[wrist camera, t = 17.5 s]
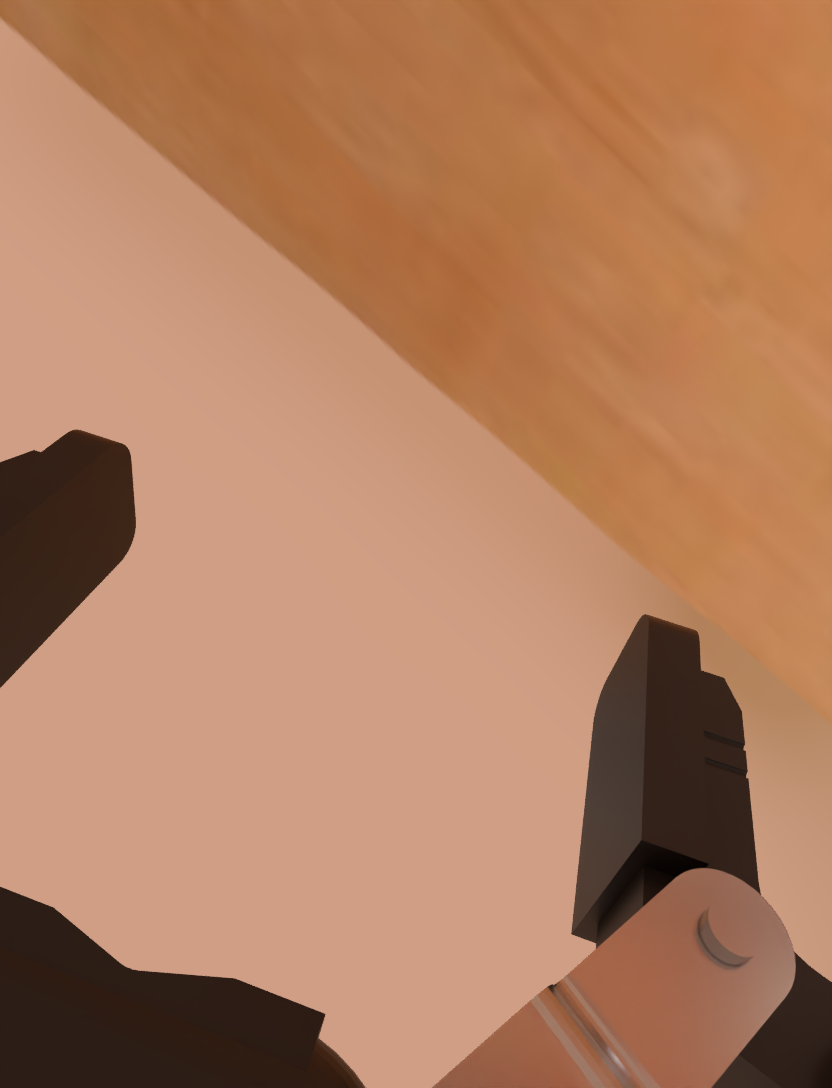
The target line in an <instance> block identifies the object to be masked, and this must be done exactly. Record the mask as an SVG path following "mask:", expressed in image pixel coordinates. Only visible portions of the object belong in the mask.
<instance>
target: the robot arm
mask: <svg viewBox="0 0 832 1088" xmlns="http://www.w3.org/2000/svg"><path fill="white" fill-rule="evenodd" d="M135 528H136V517H135V505H134V491H133V478H132V464H131V455H130V452H129V449H128V448H127V447H126V446H125V445H124V444H122V443H119V442H115V441H112V440H109V439H106V438H103V437H100V436H96V435H94V434H90V433H88V432H84V431H81V430H72V431H70V432H68V433H67V434H65V435H64V436H62V437H61V438H60V439H59V440H57V441H56V442H54V443H53V444H52V445H50V446H49V447H48V448H46V449H45V450H44V451H42V452H38V451H35V450H33V451H30V452H28V453H25V454H22V455H19V456H17V457H14V458H11V459H8V460H5V461H3V462H0V687H2V686H3V685H4V683H5V682H6V681H7V680H8V679H9V678H10V677H11V676H12V675H13V674H14V673H15V672H16V671H17V670H18V669H19V668H20V667H21V666H22V664H24V662H25V661H26V660H27V659H28V658H29V657H30V656H31V655H32V654H33V653H34V652H35V651H36V650H37V649H38V648H39V647H40V646H41V645H42V644H43V642H45V640H46V639H47V638H48V637H49V636H50V635H51V634H52V633H53V632H54V631H55V630H56V629H57V628H58V627H59V626H60V625H61V624H62V623H63V622H64V621H65V620H66V618H67V617H68V616H69V615H70V614H71V613H72V612H73V611H74V610H75V609H76V608H77V607H78V606H79V605H80V604H81V603H82V602H83V601H84V600H85V598H86V597H87V596H88V595H89V594H90V593H91V592H92V591H93V590H94V589H95V588H96V587H97V586H98V585H99V584H100V583H101V582H102V581H103V580H104V579H105V577H106V576H107V575H108V574H109V573H110V572H111V571H112V570H113V569H114V568H115V567H116V566H117V565H118V564H119V563H120V562H121V561H122V559H123V558H124V557H125V555H126V554H127V552H128V550H129V548H130V546H131V544H132V541H133V538H134V534H135ZM699 643H700V642H699V635H698V632H697V631H695V630H693V629H690V628H687V627H683V626H680V625H677V624H674V623H671V622H668V621H665V620H662V619H659V618H656V617H653V616H649V615H646V614H645V615H643V616H642V617H641V618H640V619H639V621H638V622H637V625H636V626H635V628H634V630H633V632H632V634H631V635H630V637H629V639H628V641H627V643H626V645H625V646H624V648H623V650H622V652H621V654H620V656H619V658H618V660H617V662H616V663H615V665H614V667H613V669H612V671H611V672H610V674H609V676H608V678H607V680H606V682H605V684H604V687H603V689H602V691H601V694H600V697H599V700H598V704H597V708H596V711H595V716H594V722H593V732H592V741H591V751H590V760H589V770H588V780H587V791H586V799H585V809H584V818H583V827H582V837H581V847H580V856H579V866H578V875H577V885H576V896H575V905H574V914H573V924H572V933H571V934H572V935H575V936H578V937H581V938H583V939H586V940H589V941H592V942H594V943H596V950H594V951H593V952H592V953H591V954H590V955H589V956H588V957H587V958H585V959H584V960H583V961H582V962H581V963H580V964H579V965H578V966H577V967H575V968H574V969H573V970H572V971H571V972H570V973H569V974H568V975H566V976H565V977H564V978H563V979H562V980H561V981H559V982H558V983H557V984H555V985H550V986H548V987H547V988H545V989H544V990H543V991H541V992H540V993H539V994H538V995H536V996H535V997H534V998H533V999H532V1000H530V1001H529V1002H528V1003H527V1004H526V1005H525V1006H524V1007H522V1008H521V1009H520V1010H519V1011H518V1012H517V1013H516V1014H515V1015H513V1016H512V1017H511V1018H510V1019H509V1020H508V1021H507V1022H506V1023H504V1024H503V1025H502V1026H501V1027H500V1028H499V1029H498V1030H496V1031H495V1032H494V1033H493V1034H492V1035H491V1036H490V1037H489V1038H488V1039H487V1040H485V1041H484V1042H483V1043H482V1044H481V1045H480V1046H478V1047H477V1048H476V1049H475V1050H474V1051H473V1052H472V1053H471V1054H469V1055H468V1056H467V1057H466V1058H465V1059H464V1060H463V1061H462V1062H460V1063H459V1064H458V1065H457V1066H456V1067H455V1068H454V1069H453V1070H452V1071H450V1072H449V1073H448V1074H447V1075H446V1076H445V1077H444V1078H442V1079H441V1080H440V1081H439V1082H438V1083H437V1084H436V1085H435V1086H433V1087H432V1088H832V982H830V981H829V980H827V979H826V978H825V977H823V976H822V975H821V974H819V973H818V972H817V971H815V970H814V969H812V968H811V967H810V966H809V965H808V964H807V963H806V962H805V961H803V960H802V959H801V958H800V957H799V956H798V955H797V954H796V953H795V952H794V950H793V946H792V942H791V940H790V937H789V935H788V932H787V930H786V928H785V926H784V924H783V923H782V921H781V919H780V918H779V916H778V915H777V913H776V912H775V911H774V909H773V908H772V907H771V905H770V904H769V903H768V902H767V901H766V900H765V899H764V897H762V896H761V893H760V888H759V882H758V872H757V862H756V852H755V842H754V831H753V821H752V811H751V801H750V791H749V781H748V778H746V774H747V771H748V770H747V760H746V751H744V750H743V748H744V745H745V740H744V730H743V720H742V711H741V709H740V707H739V705H738V703H737V702H736V700H735V698H734V696H733V694H732V692H731V690H730V688H729V687H728V685H727V683H726V681H725V679H724V678H722V677H719V676H716V675H713V674H710V673H707V672H704V671H701V665H700V644H699ZM324 1017H325V1014H324V1013H321V1012H319V1011H316V1010H314V1009H311V1008H309V1007H306V1006H304V1005H301V1004H298V1003H296V1002H293V1001H291V1000H288V999H286V998H283V997H280V996H278V995H275V994H273V993H270V992H268V991H265V990H263V989H260V988H258V987H255V986H252V985H250V984H247V983H245V982H242V981H240V980H237V979H233V978H222V977H210V976H196V975H185V974H173V973H172V974H171V973H160V972H148V971H137V970H132V969H130V968H127V967H125V966H123V965H122V964H120V963H119V962H118V961H117V960H116V959H114V958H113V957H112V956H111V955H110V954H108V953H107V952H106V951H105V950H104V949H102V948H101V947H100V946H99V945H98V944H96V943H95V942H94V941H93V940H92V939H90V938H89V937H88V936H87V935H86V934H85V933H83V932H82V931H81V930H80V929H78V928H77V927H76V926H75V925H74V924H72V923H71V922H70V921H69V920H68V919H66V918H65V917H64V916H63V915H62V914H61V913H59V912H58V911H57V910H55V908H53V907H51V906H48V905H45V904H43V903H40V902H37V901H35V900H33V899H30V898H27V897H25V896H22V895H20V894H17V893H15V892H12V891H10V890H7V889H4V888H2V887H0V1088H365V1086H364V1085H363V1083H362V1082H361V1081H360V1079H359V1078H358V1077H357V1075H356V1074H355V1072H354V1071H353V1070H352V1069H351V1068H350V1067H349V1066H348V1065H347V1064H346V1063H345V1062H344V1060H343V1059H342V1058H341V1057H340V1056H339V1055H338V1054H337V1053H336V1052H335V1051H334V1050H332V1049H331V1048H330V1047H329V1046H327V1045H326V1044H325V1043H324V1042H323V1041H321V1040H320V1039H319V1034H320V1031H321V1027H322V1024H323V1020H324Z"/></svg>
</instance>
